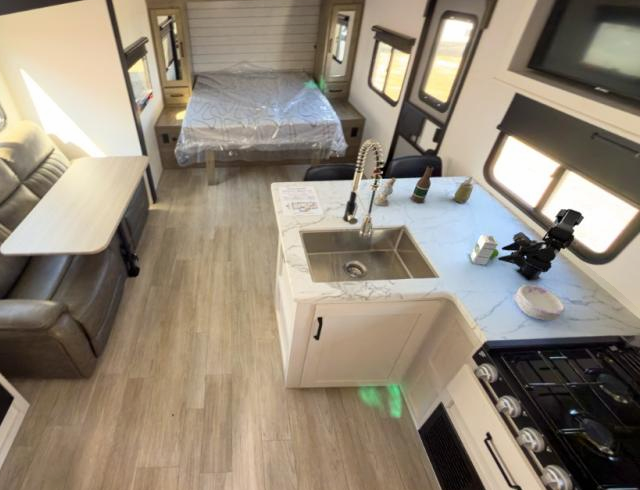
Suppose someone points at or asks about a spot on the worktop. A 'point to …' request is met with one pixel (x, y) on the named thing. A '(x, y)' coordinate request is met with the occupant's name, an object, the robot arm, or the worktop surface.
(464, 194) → the squeeze bottle
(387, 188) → the figurine
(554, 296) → the paper bowls
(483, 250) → the syrup box
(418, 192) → the beer bottle
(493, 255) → the lime
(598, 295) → the worktop surface
